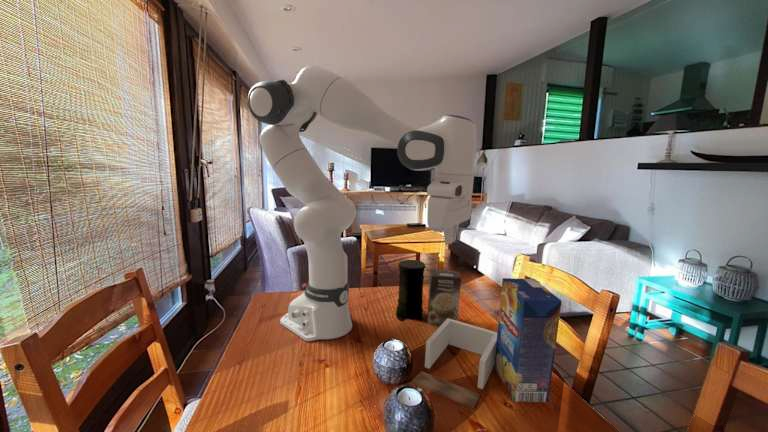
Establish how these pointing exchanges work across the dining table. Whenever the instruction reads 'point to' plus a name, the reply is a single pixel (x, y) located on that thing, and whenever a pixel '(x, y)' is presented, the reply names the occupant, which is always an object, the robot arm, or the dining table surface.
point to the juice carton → (526, 339)
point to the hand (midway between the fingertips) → (449, 242)
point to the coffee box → (443, 296)
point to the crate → (464, 345)
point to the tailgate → (446, 389)
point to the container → (410, 290)
